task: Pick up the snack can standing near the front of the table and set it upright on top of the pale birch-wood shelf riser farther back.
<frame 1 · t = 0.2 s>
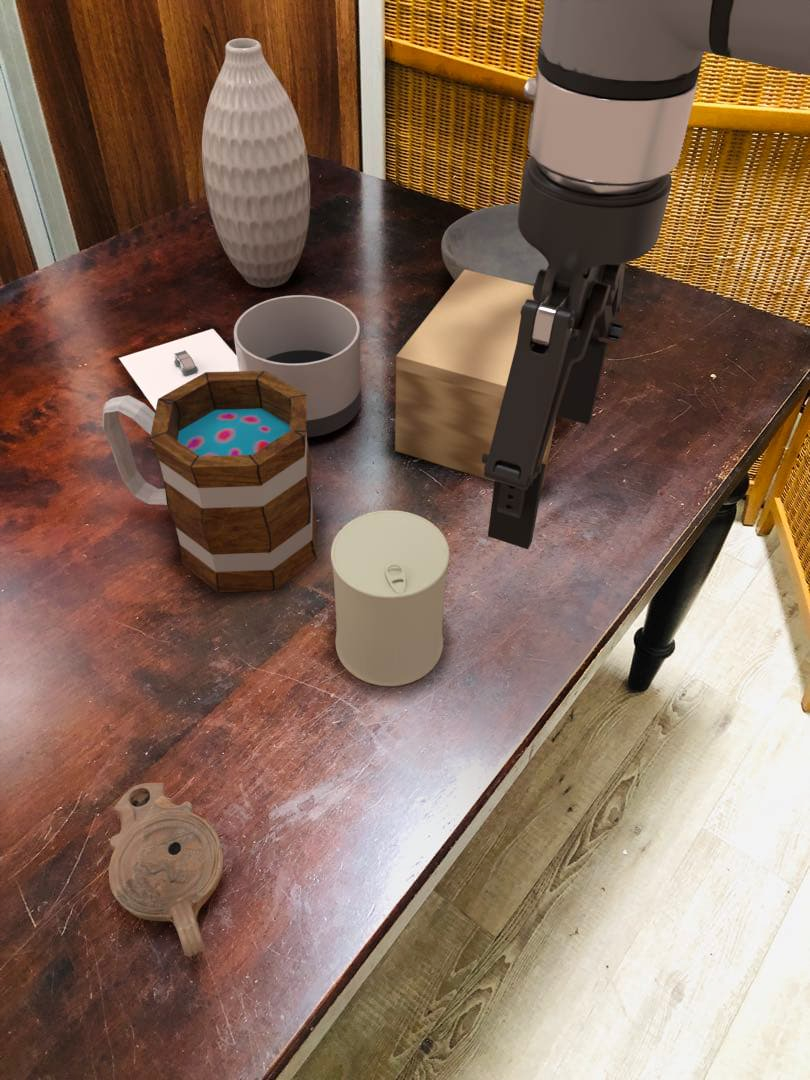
hand: (542, 474, 60), 21 cm above the table, tool pointing down, fingers open, 13 cm apart
bowl: (520, 297, 115), on the table
vase: (267, 277, 117), on the table
planter: (303, 411, 98), on the table
mug: (221, 534, 84), on the table
can: (389, 643, 76), on the table
shelf: (495, 423, 96), on the table
white paper sheet: (186, 369, 102), on the table
oil lamp: (173, 881, 61), on the table
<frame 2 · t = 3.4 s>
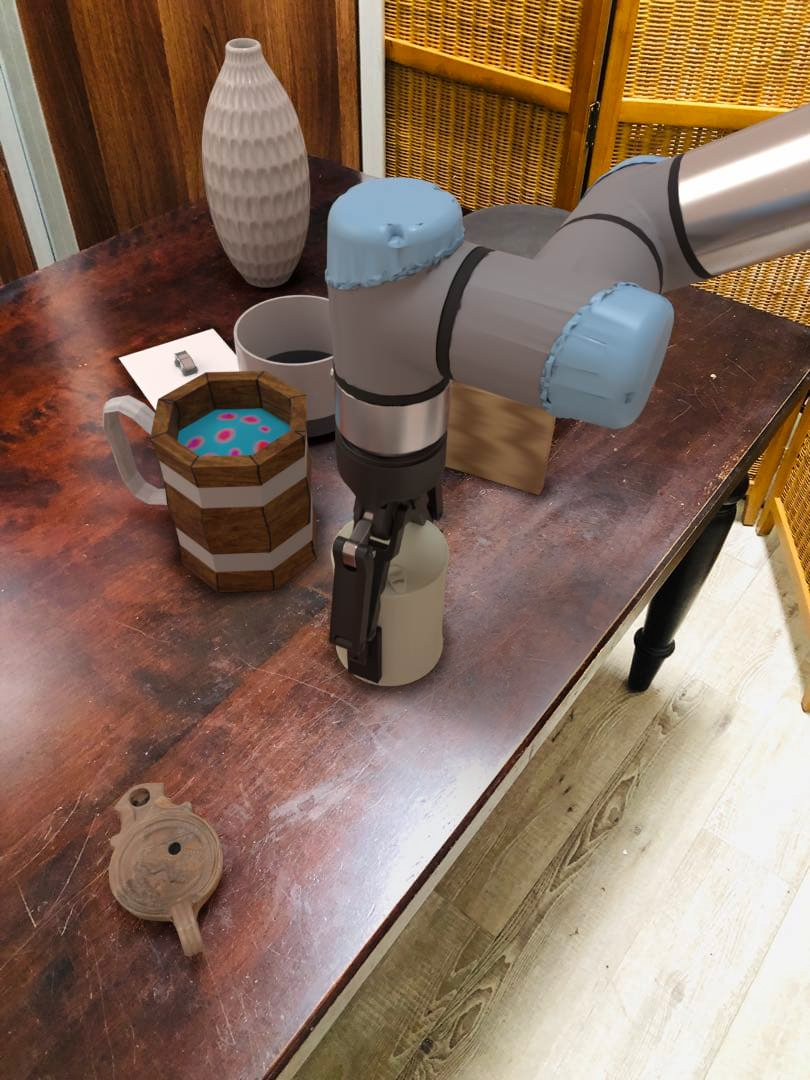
hand: (389, 632, 75), 1 cm above the table, tool pointing down, fingers closed on can, 9 cm apart
can: (389, 643, 76), on the table, touching gripper
everything else where it was.
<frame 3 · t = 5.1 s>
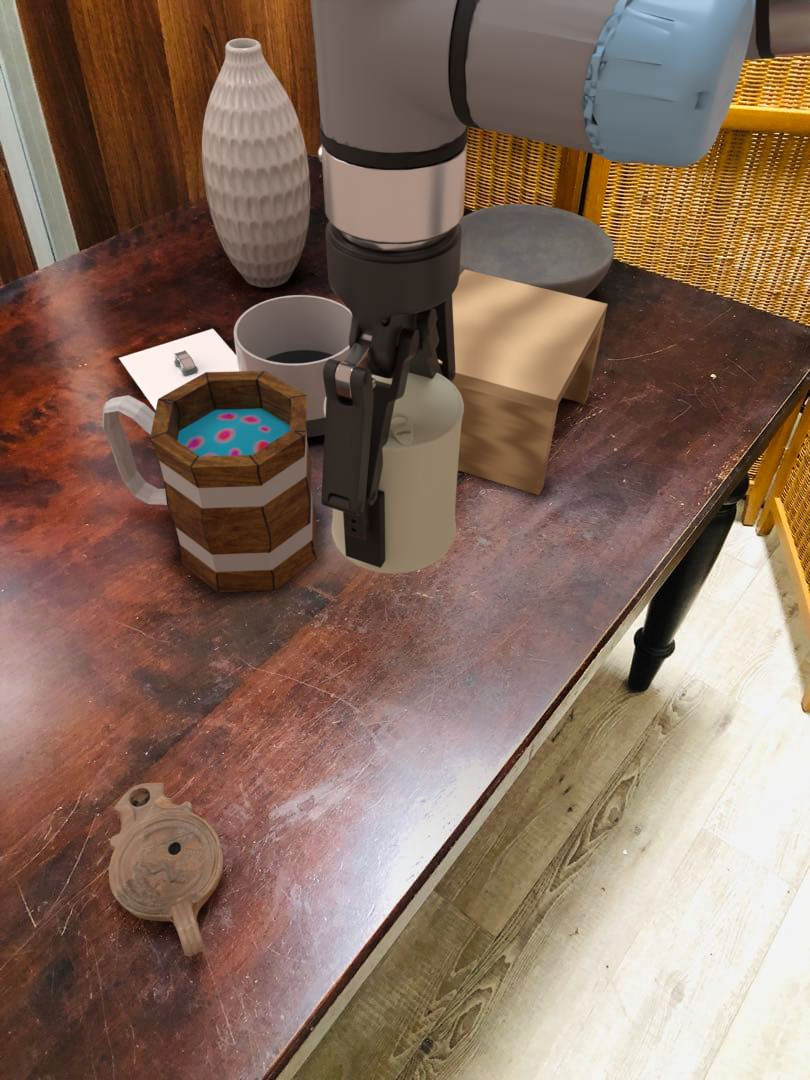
hand: (394, 514, 64), 16 cm above the table, tool pointing down, fingers closed on can, 9 cm apart
can: (393, 530, 65), point 14 cm above the table, touching gripper
everything else where it was.
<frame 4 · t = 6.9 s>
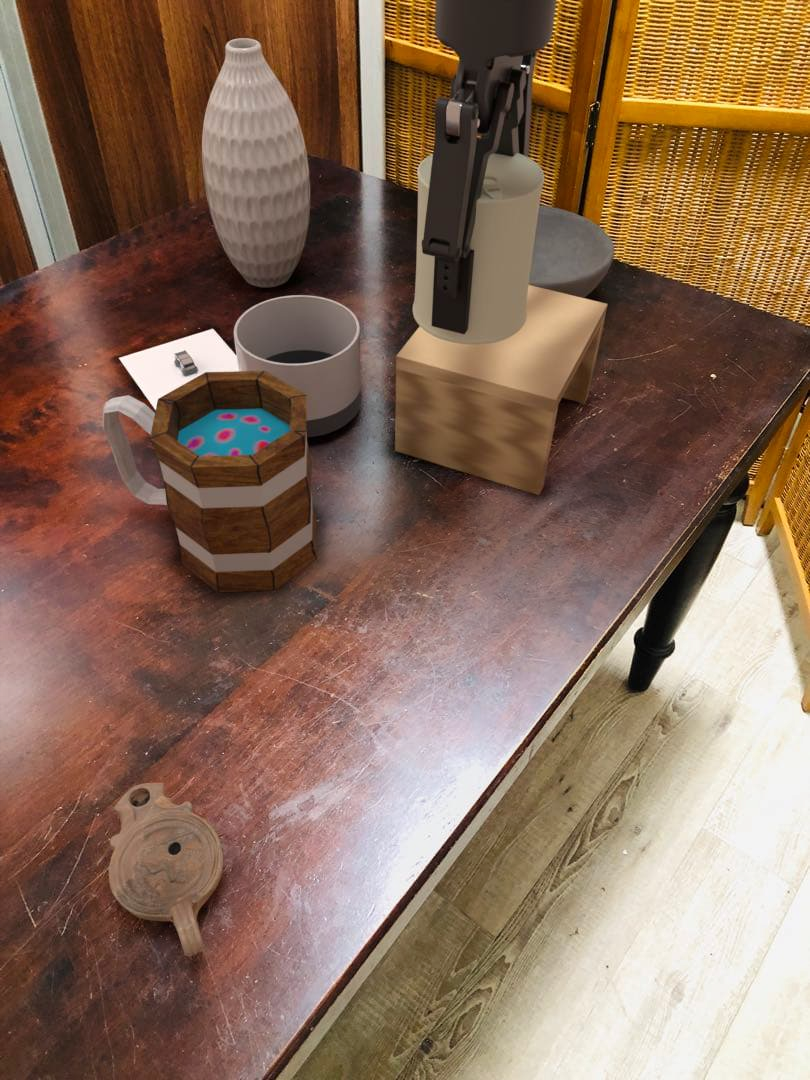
hand: (471, 297, 70), 23 cm above the table, tool pointing down, fingers closed on can, 9 cm apart
can: (469, 315, 71), point 22 cm above the table, touching gripper
everything else where it was.
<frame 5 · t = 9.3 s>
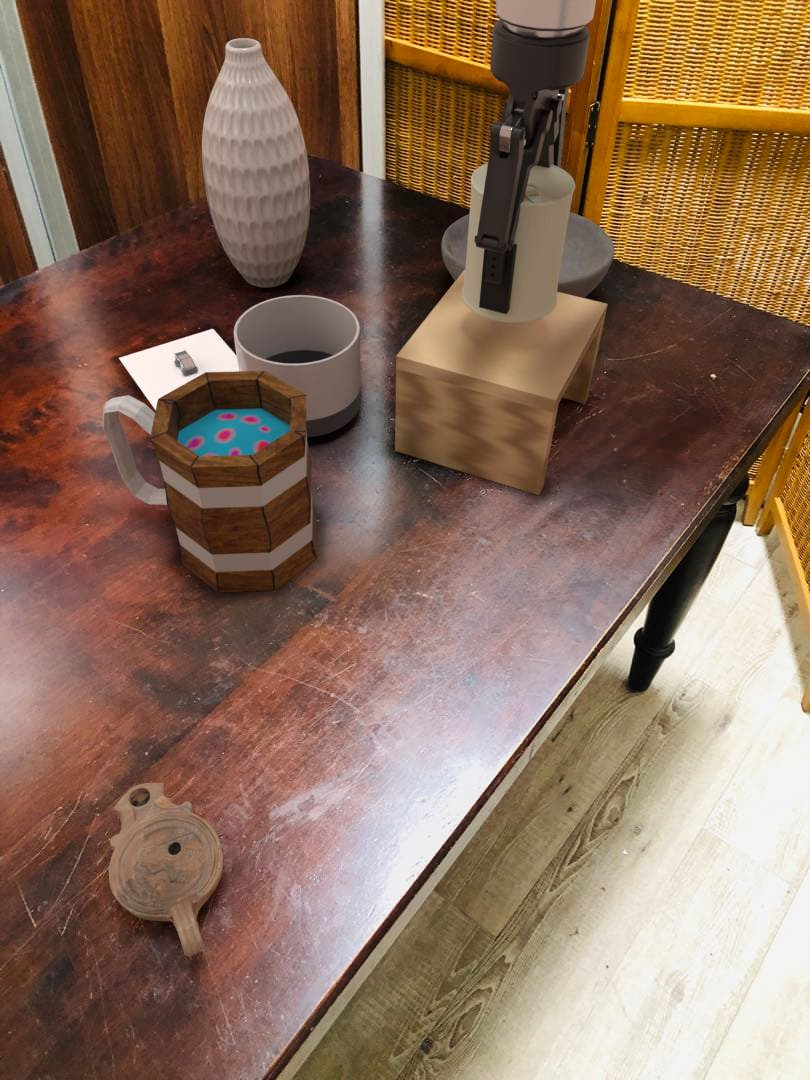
hand: (511, 284, 84), 17 cm above the table, tool pointing down, fingers closed on can, 9 cm apart
can: (508, 299, 85), point 15 cm above the table, touching gripper
everything else where it was.
when the fingers open (13 cm above the table, at t = 10.8 s): can stays where it is, resting on shelf.
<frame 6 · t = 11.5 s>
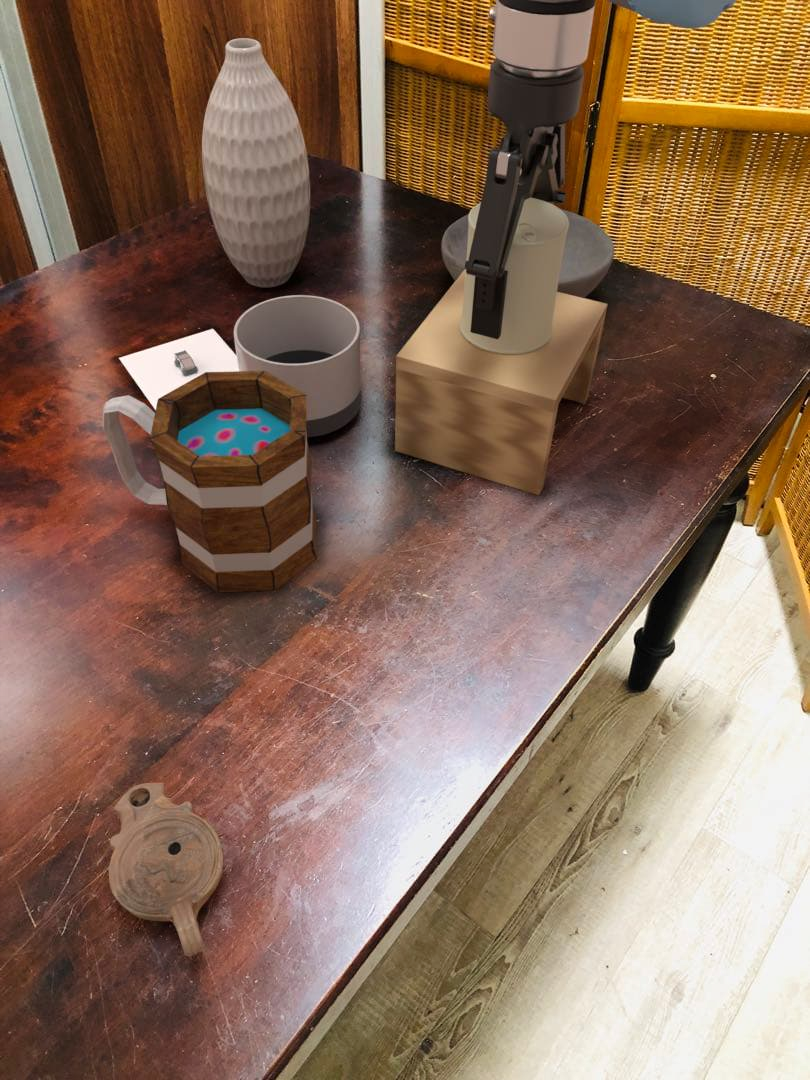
hand: (510, 298, 85), 15 cm above the table, tool pointing down, fingers open, 13 cm apart
can: (505, 330, 88), point 12 cm above the table, touching shelf
everything else where it was.
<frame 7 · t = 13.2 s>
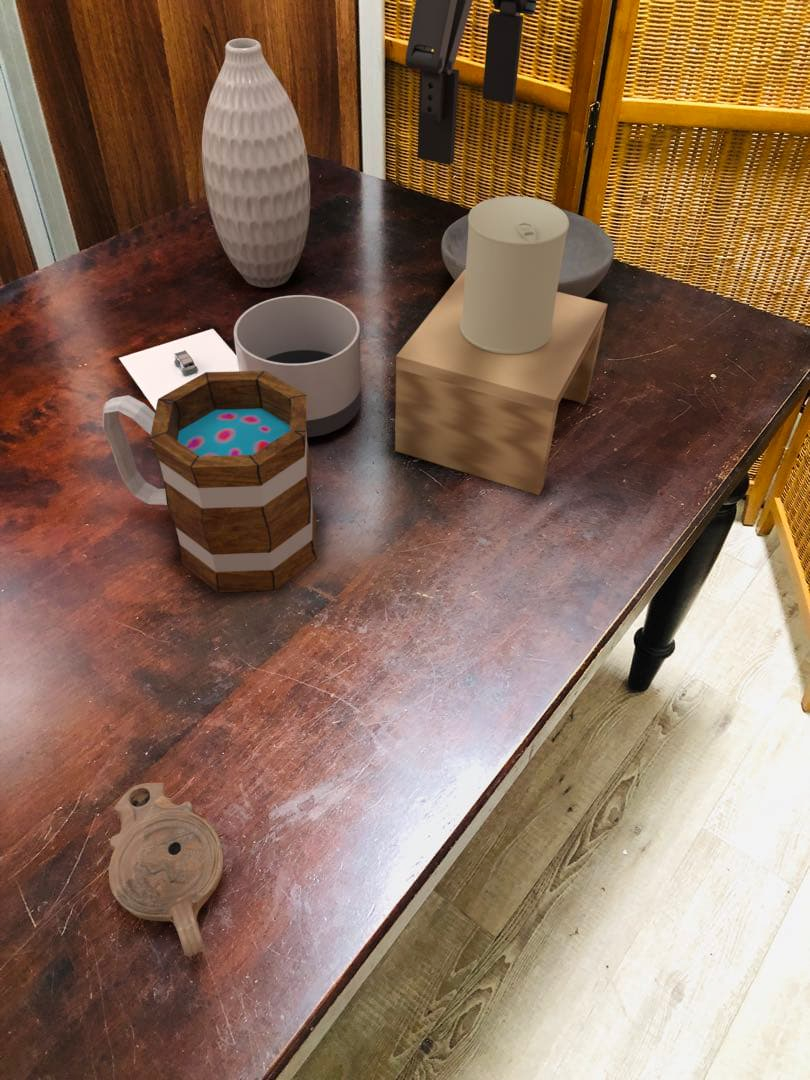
hand: (468, 128, 72), 32 cm above the table, tool pointing down, fingers open, 13 cm apart
nothing on the table moved.
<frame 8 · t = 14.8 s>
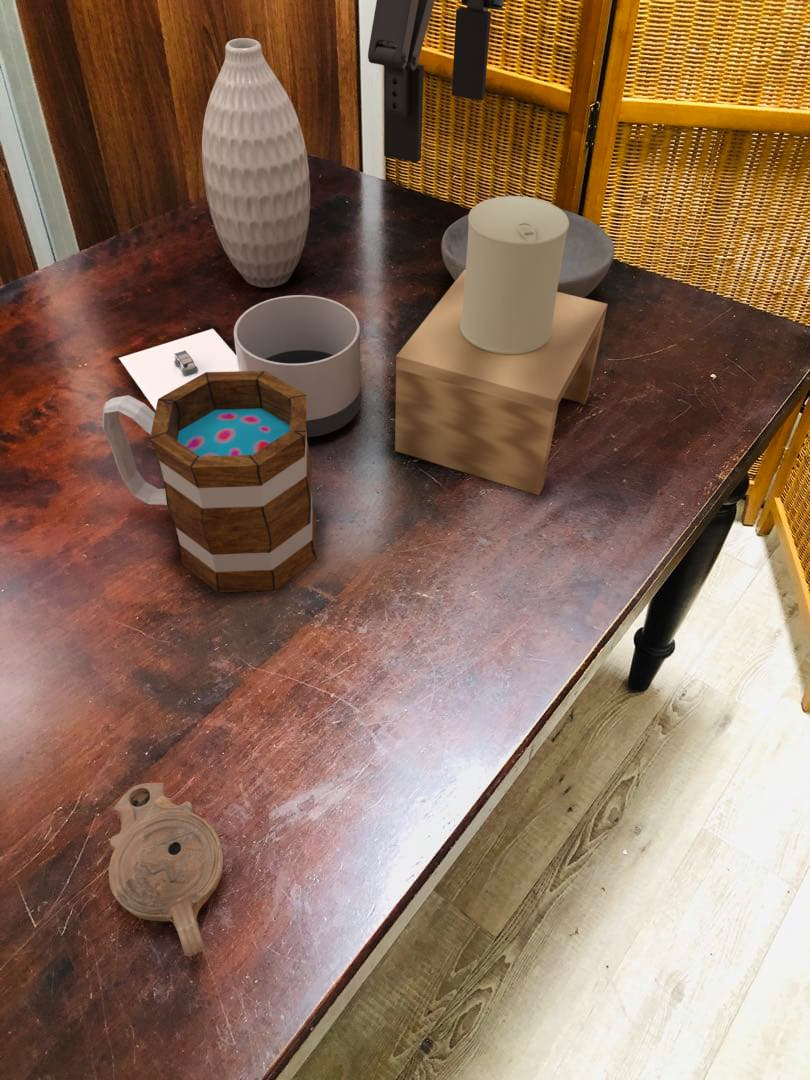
hand: (437, 125, 71), 33 cm above the table, tool pointing down, fingers open, 13 cm apart
nothing on the table moved.
at the end: can inside the target area on the shelf (0.1 cm from its centre), point 11.8 cm above the shelf's base; can tilted 0°; the gripper is holding nothing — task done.
